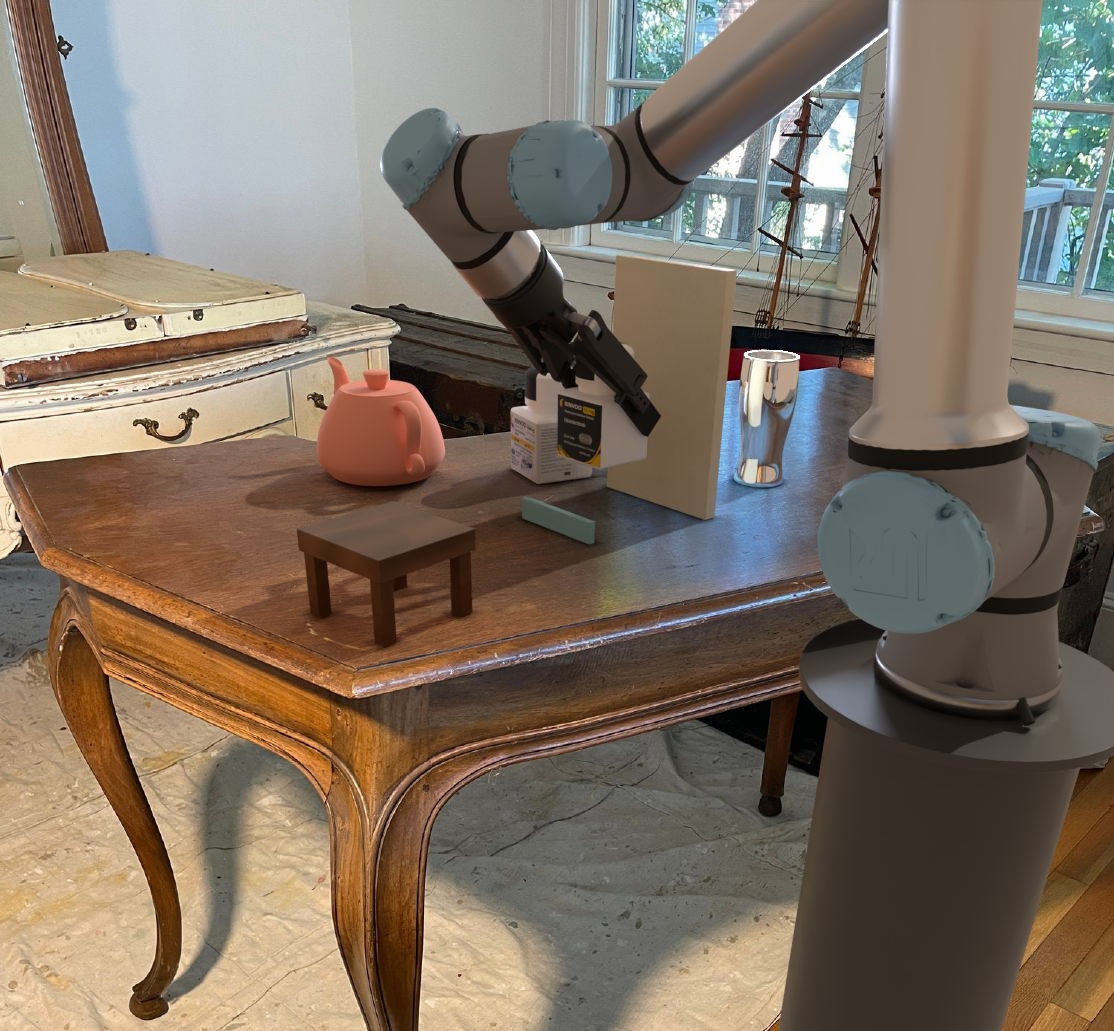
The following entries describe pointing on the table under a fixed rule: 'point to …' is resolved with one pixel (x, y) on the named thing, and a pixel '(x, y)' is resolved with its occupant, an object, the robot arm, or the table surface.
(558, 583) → the table surface
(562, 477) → the container
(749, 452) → the beer glass
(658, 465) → the beige and grey slabs
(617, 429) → the medicine bottle
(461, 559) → the stool
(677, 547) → the table surface
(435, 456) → the teapot
